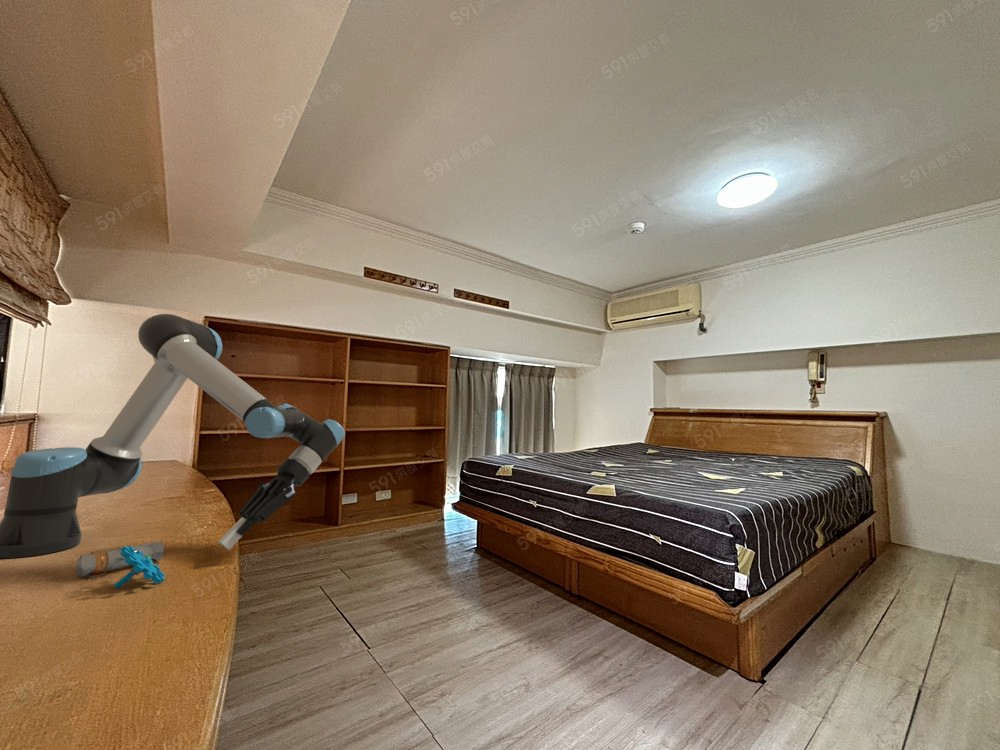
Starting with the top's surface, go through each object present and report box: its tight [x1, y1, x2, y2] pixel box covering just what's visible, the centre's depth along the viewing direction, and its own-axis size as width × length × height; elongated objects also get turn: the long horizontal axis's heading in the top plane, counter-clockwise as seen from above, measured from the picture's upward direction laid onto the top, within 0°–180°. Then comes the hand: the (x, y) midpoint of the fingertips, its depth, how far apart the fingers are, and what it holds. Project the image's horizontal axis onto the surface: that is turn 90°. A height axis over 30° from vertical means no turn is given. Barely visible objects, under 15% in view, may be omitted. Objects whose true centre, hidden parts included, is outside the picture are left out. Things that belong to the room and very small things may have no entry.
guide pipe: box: [76, 540, 165, 580], centre depth 86 cm, size 5×13×5 cm, turn 151°
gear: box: [113, 545, 166, 589], centre depth 78 cm, size 11×6×10 cm
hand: (223, 545), depth 91 cm, fingers closed
